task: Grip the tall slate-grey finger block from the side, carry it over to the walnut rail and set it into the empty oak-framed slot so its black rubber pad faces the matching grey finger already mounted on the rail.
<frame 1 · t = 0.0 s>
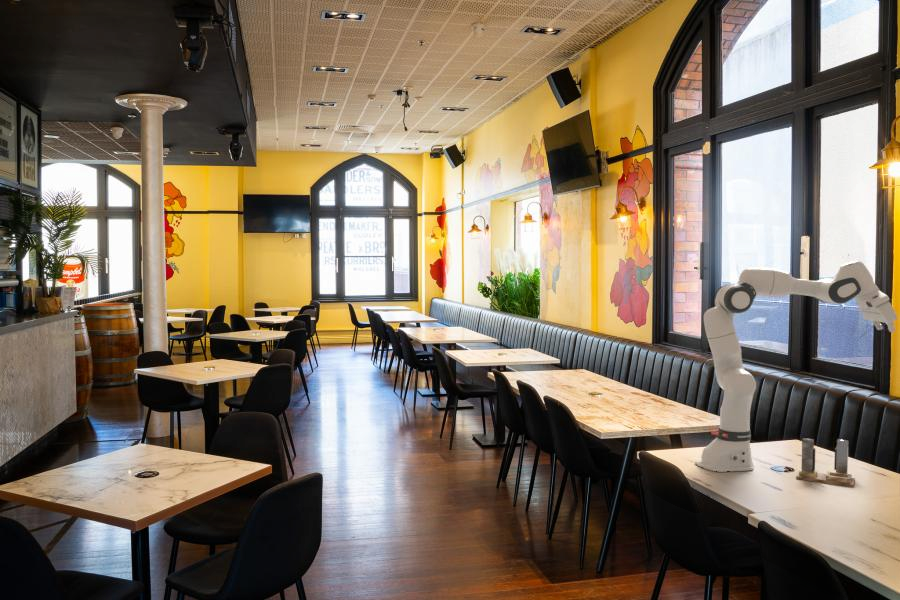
hand: (886, 330, 273), 54 cm above the table, tool tilted 30°, fingers open, 8 cm apart
finger: (840, 475, 266), on the table
rail: (838, 481, 258), on the table
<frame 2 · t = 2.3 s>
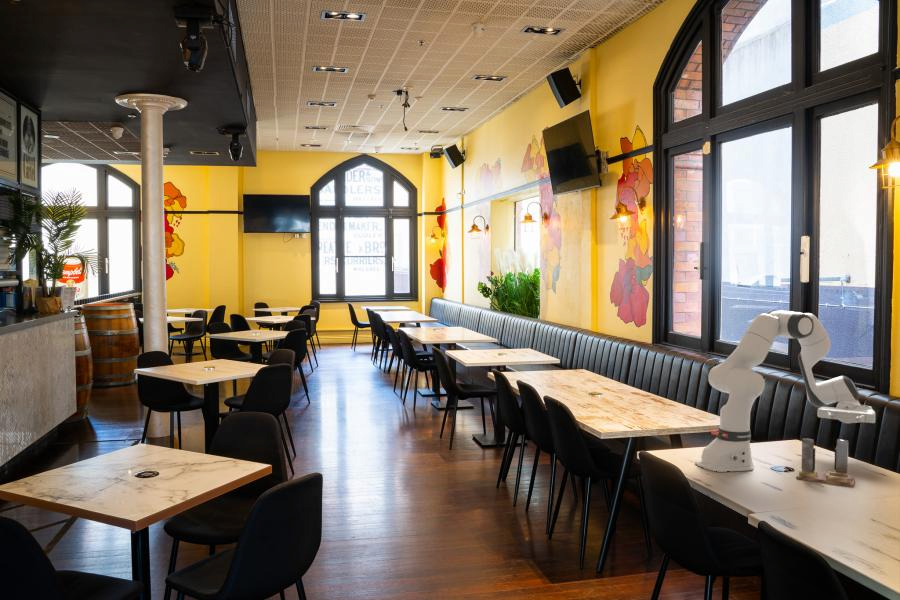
hand: (844, 418, 276), 20 cm above the table, tool horizontal, fingers open, 8 cm apart
nothing on the table moved.
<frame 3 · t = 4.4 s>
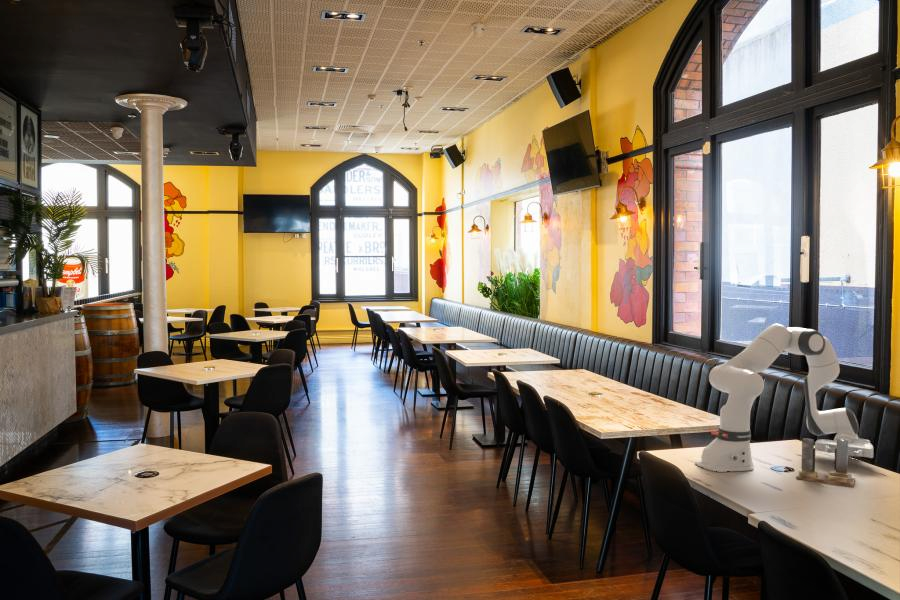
hand: (842, 452, 273), 7 cm above the table, tool horizontal, fingers open, 8 cm apart
nothing on the table moved.
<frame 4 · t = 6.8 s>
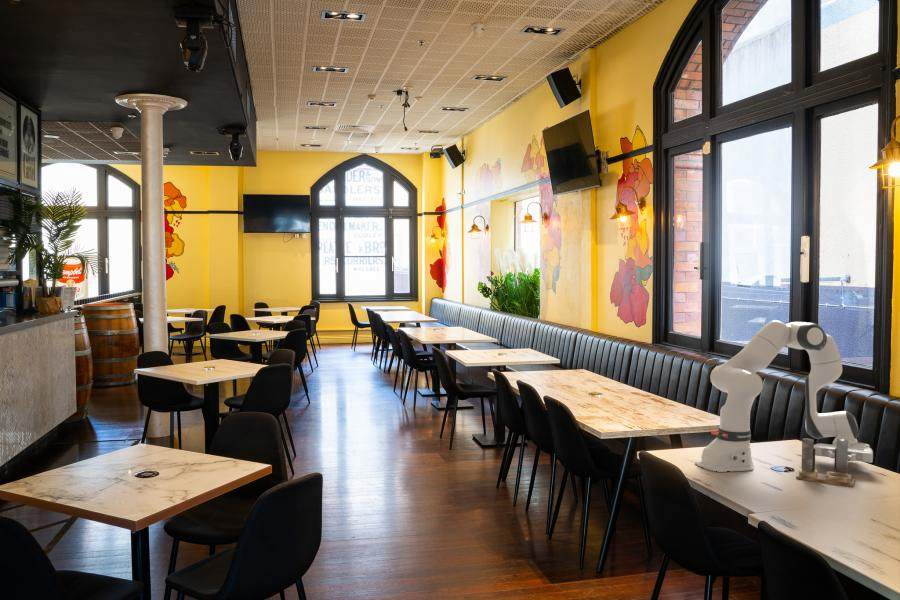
hand: (841, 457, 265), 7 cm above the table, tool horizontal, fingers closed on finger, 4 cm apart
finger: (840, 475, 266), on the table, touching gripper
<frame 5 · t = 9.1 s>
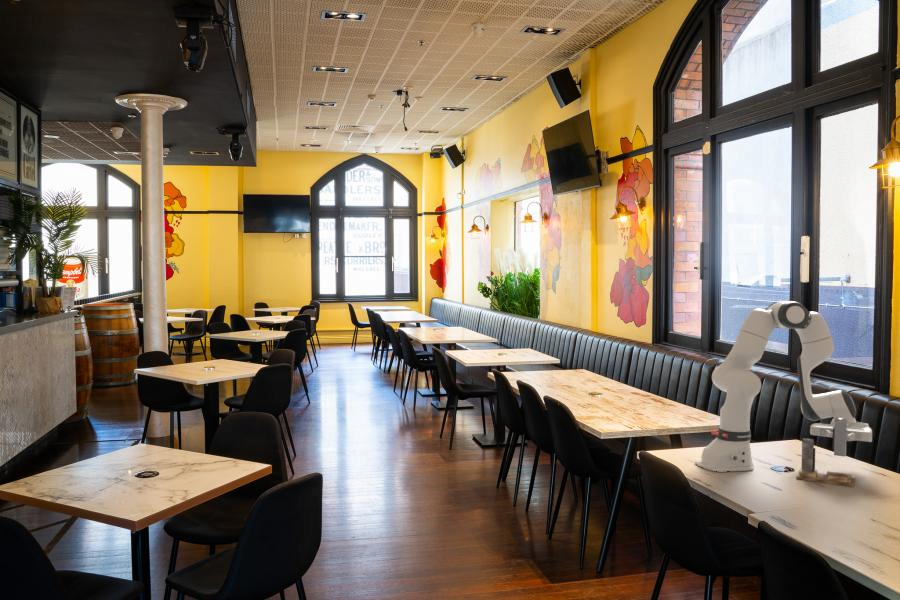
hand: (839, 436, 257), 17 cm above the table, tool horizontal, fingers closed on finger, 4 cm apart
finger: (839, 454, 258), point 10 cm above the table, touching gripper
when the fingers open (9 cm above the table, at t = 11.4 s): finger stays where it is, resting on rail.
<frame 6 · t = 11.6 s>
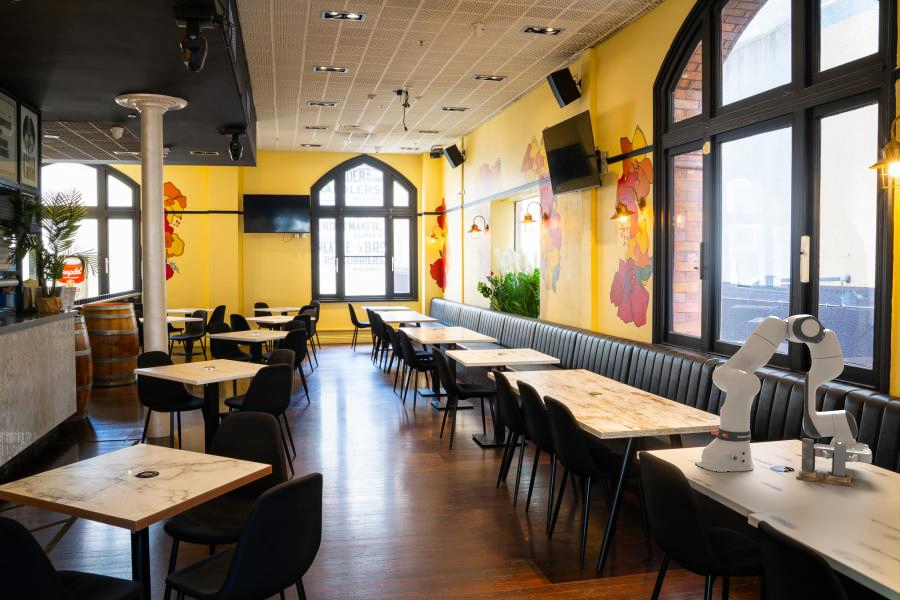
hand: (838, 458, 257), 9 cm above the table, tool horizontal, fingers open, 6 cm apart
finger: (838, 479, 258), point 1 cm above the table, touching rail
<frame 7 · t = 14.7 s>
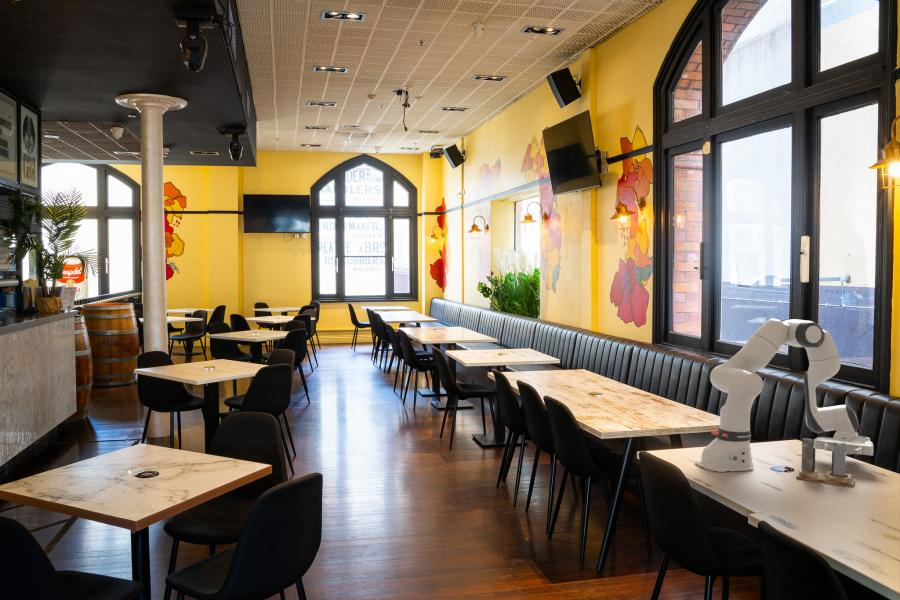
hand: (841, 450, 268), 9 cm above the table, tool horizontal, fingers open, 8 cm apart
nothing on the table moved.
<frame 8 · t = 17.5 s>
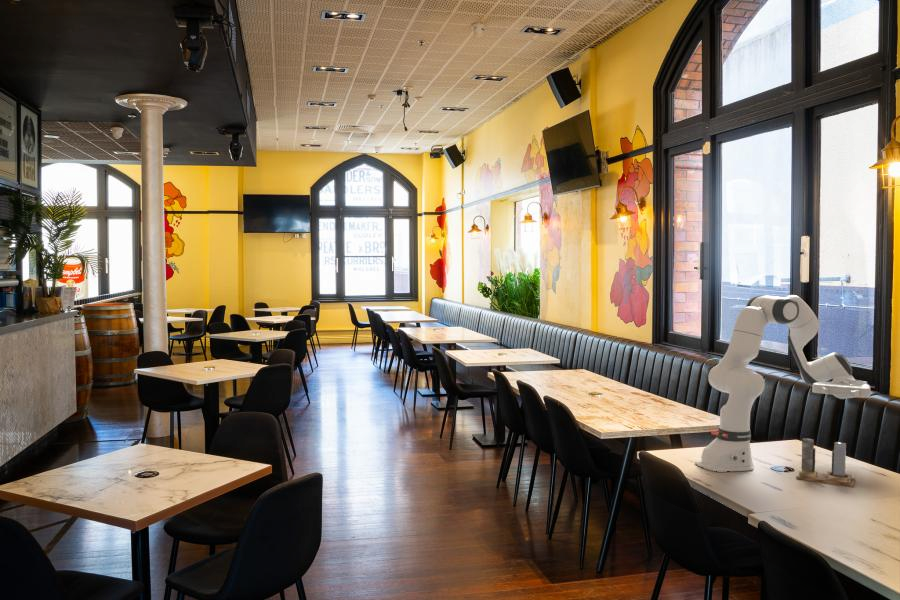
hand: (839, 392, 274), 30 cm above the table, tool horizontal, fingers open, 8 cm apart
nothing on the table moved.
at the end: finger 0.1 cm off-centre on the rail, point 1.0 cm above the rail's base; finger tilted 0°; the gripper is holding nothing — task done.
